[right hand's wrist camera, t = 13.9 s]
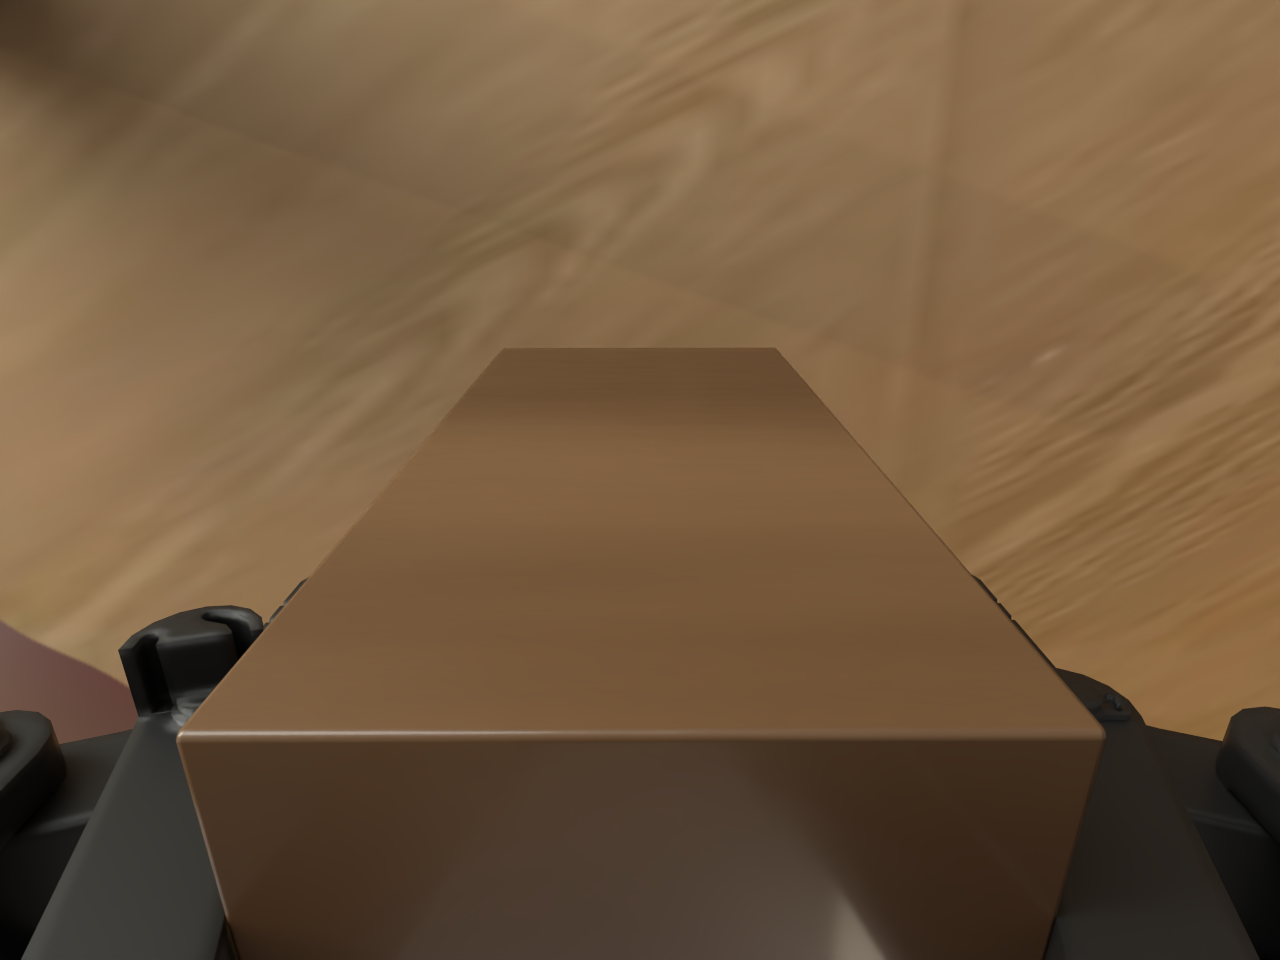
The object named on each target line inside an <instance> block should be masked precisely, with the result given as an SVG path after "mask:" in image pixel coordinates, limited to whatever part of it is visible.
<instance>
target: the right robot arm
mask: <svg viewBox="0 0 1280 960" xmlns="http://www.w3.org/2000/svg"><path fill="white" fill-rule="evenodd" d="M971 575H972V574H971ZM972 576H973V575H972ZM973 577H974V578H975V579H976V581H977V582H978V583H979V584H980V585H981V586H982V587H983V589H984V590H985V591H986V592H987V593H988V594H989V596H990V597H991V598H992V599H993V600H994V601H995V603H996V604H997V605H998V606H999V607H1000V608H1001V609H1002V611H1003V612H1004V613H1005V614H1006V615H1007V616H1008V618H1009V619H1010V620H1011V615H1010V614H1009V613H1008V611H1007V610H1006V609H1005V608H1004V607H1003V606H1002V604H1001V603H997V599H996V597H995V596H994V595H993V594H992V593H991V592H990V590H989V589H988V588H987V587H986V586H985V585H984V584H983V582H982V581H981V580H980V579H978V578H977V577H975V576H973ZM308 578H309V577H308ZM308 578H307V579H308ZM307 579H305V580H303V581H302V582H300V584H299V585H298V586H297V587H296V588H295V589H294V591H293V592H292V593H291V594H290V595H289V596H288V598H287V599H286V600H285V601H284V606H285V605H286V604H287V603H288V601H289V600H290V599H291V598H292V597H293V596H294V594H295V593H296V592H297V591H298V590H299V588H300V587H301V586H302V585H303V584H304V583H305V581H306V580H307ZM284 606H280V607H279V608H278V609H277V611H276V612H275V613H274V614H273V615H272V616H271V618H270V622H269V623H266V624H265V625H264V626H263V622H262V617H261V616H259V615H258V614H257V613H255V612H254V611H252V610H251V609H248V608H243V607H237V606H232V605H229V606H208V607H203V608H198V609H193V610H189V611H184V612H180V613H177V614H175V615H172V616H169V617H167V618H164V619H162V620H159V621H156V622H154V623H152V624H150V625H149V626H147V627H145V628H144V629H142V630H140V631H139V632H137V633H135V634H134V635H132V636H131V637H130V638H129V639H128V640H127V641H126V642H125V643H124V644H123V646H122V647H121V648H120V649H119V650H118V651H119V654H120V657H121V661H122V664H123V667H124V671H125V674H126V677H127V680H128V684H129V687H130V690H131V693H132V697H133V700H134V703H135V706H136V710H137V713H138V716H139V718H138V720H137V722H136V724H135V726H134V728H133V729H131V730H127V731H123V732H118V733H113V734H108V735H103V736H99V737H94V738H89V739H84V740H79V741H74V742H69V743H64V744H59V743H58V740H57V737H56V734H55V732H54V729H53V726H52V723H51V721H50V720H49V719H48V718H46V717H45V716H43V715H42V714H40V713H39V712H31V711H22V710H13V711H6V712H0V960H238V958H237V954H236V951H235V947H234V944H233V940H232V936H231V933H230V929H229V926H228V922H227V919H226V915H225V912H224V908H223V905H222V901H221V898H220V894H219V891H218V887H217V884H216V880H215V877H214V873H213V870H212V866H211V863H210V859H209V856H208V852H207V849H206V845H205V842H204V838H203V835H202V831H201V828H200V824H199V821H198V817H197V814H196V810H195V807H194V803H193V799H192V796H191V792H190V789H189V785H188V782H187V778H186V775H185V771H184V768H183V764H182V761H181V757H180V754H179V750H178V747H177V743H176V739H177V734H178V732H179V730H180V729H181V728H182V726H183V725H184V724H185V723H186V722H187V721H188V719H189V718H190V717H191V716H192V715H193V713H194V712H195V711H196V710H197V709H198V708H199V706H200V705H201V704H202V703H203V702H204V700H205V699H206V698H207V697H208V696H209V695H210V693H211V692H212V691H213V690H214V689H215V688H216V686H217V685H218V684H219V683H220V682H221V680H222V679H223V678H224V677H225V676H226V675H227V673H228V672H229V671H230V670H231V669H232V667H233V666H234V665H235V664H236V663H237V662H238V660H239V659H240V658H241V657H242V656H243V655H244V653H245V652H246V651H247V650H248V649H249V647H250V646H251V645H252V644H253V643H254V642H255V640H256V639H257V638H258V637H259V636H260V634H261V633H262V632H263V631H264V630H265V629H266V627H267V626H268V625H269V624H270V623H271V622H272V620H273V619H274V618H275V617H276V616H277V614H278V613H279V612H280V611H281V610H282V609H283V607H284ZM1011 621H1012V622H1013V623H1014V625H1015V626H1016V627H1017V628H1018V629H1019V630H1020V631H1021V633H1022V634H1023V635H1024V636H1025V637H1026V638H1027V640H1028V641H1029V642H1030V643H1031V644H1032V645H1033V647H1034V648H1035V649H1036V650H1037V651H1038V652H1039V653H1040V655H1041V656H1042V657H1043V658H1044V659H1045V660H1046V662H1047V663H1048V664H1049V665H1050V666H1051V667H1052V669H1053V670H1054V671H1055V672H1056V673H1057V674H1058V676H1059V677H1060V678H1061V679H1062V680H1063V681H1064V682H1065V684H1066V685H1067V686H1068V687H1069V688H1070V689H1071V691H1072V692H1073V693H1074V694H1075V695H1076V696H1077V698H1078V699H1079V700H1080V701H1081V702H1082V703H1083V704H1084V706H1085V707H1086V708H1087V709H1088V710H1089V711H1090V713H1091V714H1092V715H1093V716H1094V717H1095V718H1096V720H1097V721H1098V722H1099V723H1100V724H1101V725H1102V726H1103V728H1104V730H1105V733H1106V739H1107V740H1106V743H1105V747H1104V750H1103V754H1102V757H1101V761H1100V764H1099V768H1098V772H1097V775H1096V779H1095V782H1094V786H1093V789H1092V793H1091V796H1090V800H1089V804H1088V807H1087V811H1086V814H1085V818H1084V821H1083V825H1082V829H1081V832H1080V836H1079V839H1078V843H1077V846H1076V850H1075V853H1074V857H1073V861H1072V864H1071V868H1070V871H1069V875H1068V878H1067V882H1066V886H1065V889H1064V893H1063V896H1062V900H1061V903H1060V907H1059V910H1058V914H1057V916H1056V919H1055V923H1054V926H1053V930H1052V933H1051V937H1050V940H1049V944H1048V947H1047V951H1046V954H1045V958H1044V960H1280V709H1278V708H1271V707H1257V708H1247V709H1242V710H1241V711H1240V712H1238V713H1237V714H1235V715H1234V716H1232V717H1231V719H1230V722H1229V725H1228V728H1227V731H1226V733H1225V736H1224V739H1223V741H1219V740H1214V739H1209V738H1204V737H1199V736H1194V735H1189V734H1184V733H1179V732H1174V731H1169V730H1164V729H1159V728H1155V727H1151V726H1147V725H1146V724H1145V722H1144V720H1143V718H1142V716H1141V715H1140V714H1139V712H1138V711H1137V710H1136V709H1135V707H1134V706H1133V705H1132V704H1131V702H1130V701H1129V700H1128V699H1126V698H1125V697H1123V696H1122V695H1121V694H1119V693H1118V692H1116V691H1115V690H1114V689H1112V688H1111V687H1109V686H1107V685H1105V684H1103V683H1101V682H1099V681H1096V680H1094V679H1092V678H1090V677H1087V676H1085V675H1082V674H1078V673H1074V672H1070V671H1066V670H1062V669H1058V668H1056V667H1055V666H1054V665H1053V664H1052V663H1051V662H1050V660H1049V659H1048V658H1047V657H1046V656H1045V655H1044V653H1043V652H1042V651H1041V650H1040V649H1039V648H1038V646H1037V645H1036V644H1035V643H1034V642H1033V641H1032V639H1031V638H1030V637H1029V636H1028V635H1027V634H1026V632H1025V631H1024V630H1023V629H1022V628H1021V627H1020V625H1019V624H1018V623H1017V622H1016V621H1015V620H1011Z"/></svg>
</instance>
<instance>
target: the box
mask: <svg viewBox="0 0 1280 960" xmlns="http://www.w3.org/2000/svg"><path fill="white" fill-rule="evenodd" d="M1106 740H1107V739H1106V733H1105V730H1104V728H1103V726H1102V725H1101V724H1100V723H1099V722H1098V721H1097V720H1096V718H1095V717H1094V716H1093V715H1092V714H1091V713H1090V711H1089V710H1088V709H1087V708H1086V707H1085V706H1084V704H1083V703H1082V702H1081V701H1080V700H1079V699H1078V698H1077V696H1076V695H1075V694H1074V693H1073V692H1072V691H1071V689H1070V688H1069V687H1068V686H1067V685H1066V684H1065V682H1064V681H1063V680H1062V679H1061V678H1060V677H1059V676H1058V674H1057V673H1056V672H1055V671H1054V670H1053V669H1052V667H1051V666H1050V665H1049V664H1048V663H1047V662H1046V660H1045V659H1044V658H1043V657H1042V656H1041V655H1040V653H1039V652H1038V651H1037V650H1036V649H1035V648H1034V647H1033V645H1032V644H1031V643H1030V642H1029V641H1028V640H1027V638H1026V637H1025V636H1024V635H1023V634H1022V633H1021V631H1020V630H1019V629H1018V628H1017V627H1016V626H1015V625H1014V623H1013V622H1012V621H1011V620H1010V619H1009V618H1008V616H1007V615H1006V614H1005V613H1004V612H1003V611H1002V609H1001V608H1000V607H999V606H998V605H997V604H996V603H995V601H994V600H993V599H992V598H991V597H990V596H989V594H988V593H987V592H986V591H985V590H984V589H983V587H982V586H981V585H980V584H979V583H978V582H977V581H976V579H975V578H974V577H973V576H972V575H971V574H970V572H969V571H968V570H967V569H966V568H965V567H964V565H963V564H962V563H961V562H960V561H959V560H958V559H957V557H956V556H955V555H954V554H953V553H952V552H951V550H950V549H949V548H948V547H947V546H946V545H945V543H944V542H943V541H942V540H941V539H940V538H939V537H938V535H937V534H936V533H935V532H934V531H933V530H932V528H931V527H930V526H929V525H928V524H927V523H926V521H925V520H924V519H923V518H922V517H921V516H920V515H919V513H918V512H917V511H916V510H915V509H914V508H913V506H912V505H911V504H910V503H909V502H908V501H907V499H906V498H905V497H904V496H903V495H902V494H901V493H900V491H899V490H898V489H897V488H896V487H895V486H894V484H893V483H892V482H891V481H890V480H889V479H888V477H887V476H886V475H885V474H884V473H883V472H882V471H881V469H880V468H879V467H878V466H877V465H876V464H875V462H874V461H873V460H872V459H871V458H870V457H869V455H868V454H867V453H866V452H865V451H864V450H863V448H862V447H861V446H860V445H859V444H858V443H857V442H856V440H855V439H854V438H853V437H852V436H851V435H850V433H849V432H848V431H847V430H846V429H845V428H844V426H843V425H842V424H841V423H840V422H839V421H838V420H837V418H836V417H835V416H834V415H833V414H832V413H831V411H830V410H829V409H828V408H827V407H826V406H825V404H824V403H823V402H822V401H821V400H820V399H819V398H818V396H817V395H816V394H815V393H814V392H813V391H812V389H811V388H810V387H809V386H808V385H807V384H806V382H805V381H804V380H803V379H802V378H801V377H800V376H799V374H798V373H797V372H796V371H795V370H794V369H793V367H792V366H791V365H790V364H789V363H788V362H787V360H786V359H785V358H784V357H783V356H782V355H781V354H780V352H779V351H778V350H777V349H776V348H504V349H502V350H501V352H500V353H499V354H498V355H497V356H496V357H495V359H494V360H493V361H492V362H491V363H490V364H489V366H488V367H487V368H486V369H485V370H484V372H483V373H482V374H481V375H480V376H479V377H478V379H477V380H476V381H475V382H474V383H473V385H472V386H471V387H470V388H469V389H468V390H467V392H466V393H465V394H464V395H463V396H462V398H461V399H460V400H459V401H458V402H457V403H456V405H455V406H454V407H453V408H452V409H451V410H450V412H449V413H448V414H447V415H446V416H445V418H444V419H443V420H442V421H441V422H440V423H439V425H438V426H437V427H436V428H435V429H434V431H433V432H432V433H431V434H430V435H429V436H428V438H427V439H426V440H425V441H424V442H423V443H422V445H421V446H420V447H419V448H418V449H417V451H416V452H415V453H414V454H413V455H412V456H411V458H410V459H409V460H408V461H407V462H406V464H405V465H404V466H403V467H402V468H401V469H400V471H399V472H398V473H397V474H396V475H395V476H394V478H393V479H392V480H391V481H390V482H389V484H388V485H387V486H386V487H385V488H384V489H383V491H382V492H381V493H380V494H379V495H378V497H377V498H376V499H375V500H374V501H373V502H372V504H371V505H370V506H369V507H368V508H367V510H366V511H365V512H364V513H363V514H362V515H361V517H360V518H359V519H358V520H357V521H356V522H355V524H354V525H353V526H352V527H351V528H350V530H349V531H348V532H347V533H346V534H345V535H344V537H343V538H342V539H341V540H340V541H339V543H338V544H337V545H336V546H335V547H334V548H333V550H332V551H331V552H330V553H329V554H328V555H327V557H326V558H325V559H324V560H323V561H322V563H321V564H320V565H319V566H318V567H317V568H316V570H315V571H314V572H313V573H312V574H311V576H310V577H309V578H308V579H307V580H306V581H305V583H304V584H303V585H302V586H301V587H300V588H299V590H298V591H297V592H296V593H295V594H294V596H293V597H292V598H291V599H290V600H289V601H288V603H287V604H286V605H285V606H284V607H283V609H282V610H281V611H280V612H279V613H278V614H277V616H276V617H275V618H274V619H273V620H272V622H271V623H270V624H269V625H268V626H267V627H266V629H265V630H264V631H263V632H262V633H261V634H260V636H259V637H258V638H257V639H256V640H255V642H254V643H253V644H252V645H251V646H250V647H249V649H248V650H247V651H246V652H245V653H244V655H243V656H242V657H241V658H240V659H239V660H238V662H237V663H236V664H235V665H234V666H233V667H232V669H231V670H230V671H229V672H228V673H227V675H226V676H225V677H224V678H223V679H222V680H221V682H220V683H219V684H218V685H217V686H216V688H215V689H214V690H213V691H212V692H211V693H210V695H209V696H208V697H207V698H206V699H205V700H204V702H203V703H202V704H201V705H200V706H199V708H198V709H197V710H196V711H195V712H194V713H193V715H192V716H191V717H190V718H189V719H188V721H187V722H186V723H185V724H184V725H183V726H182V728H181V729H180V730H179V732H178V734H177V739H176V743H177V747H178V750H179V754H180V757H181V761H182V764H183V768H184V771H185V775H186V778H187V782H188V785H189V789H190V792H191V796H192V799H193V803H194V807H195V810H196V814H197V817H198V821H199V824H200V828H201V831H202V835H203V838H204V842H205V845H206V849H207V852H208V856H209V859H210V863H211V866H212V870H213V873H214V877H215V880H216V884H217V887H218V891H219V894H220V898H221V901H222V905H223V908H224V912H225V915H226V919H227V922H228V926H229V929H230V933H231V936H232V940H233V944H234V947H235V951H236V954H237V958H238V960H1044V958H1045V954H1046V951H1047V947H1048V944H1049V940H1050V937H1051V933H1052V930H1053V926H1054V923H1055V919H1056V916H1057V914H1058V910H1059V907H1060V903H1061V900H1062V896H1063V893H1064V889H1065V886H1066V882H1067V878H1068V875H1069V871H1070V868H1071V864H1072V861H1073V857H1074V853H1075V850H1076V846H1077V843H1078V839H1079V836H1080V832H1081V829H1082V825H1083V821H1084V818H1085V814H1086V811H1087V807H1088V804H1089V800H1090V796H1091V793H1092V789H1093V786H1094V782H1095V779H1096V775H1097V772H1098V768H1099V764H1100V761H1101V757H1102V754H1103V750H1104V747H1105V743H1106Z"/></svg>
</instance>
